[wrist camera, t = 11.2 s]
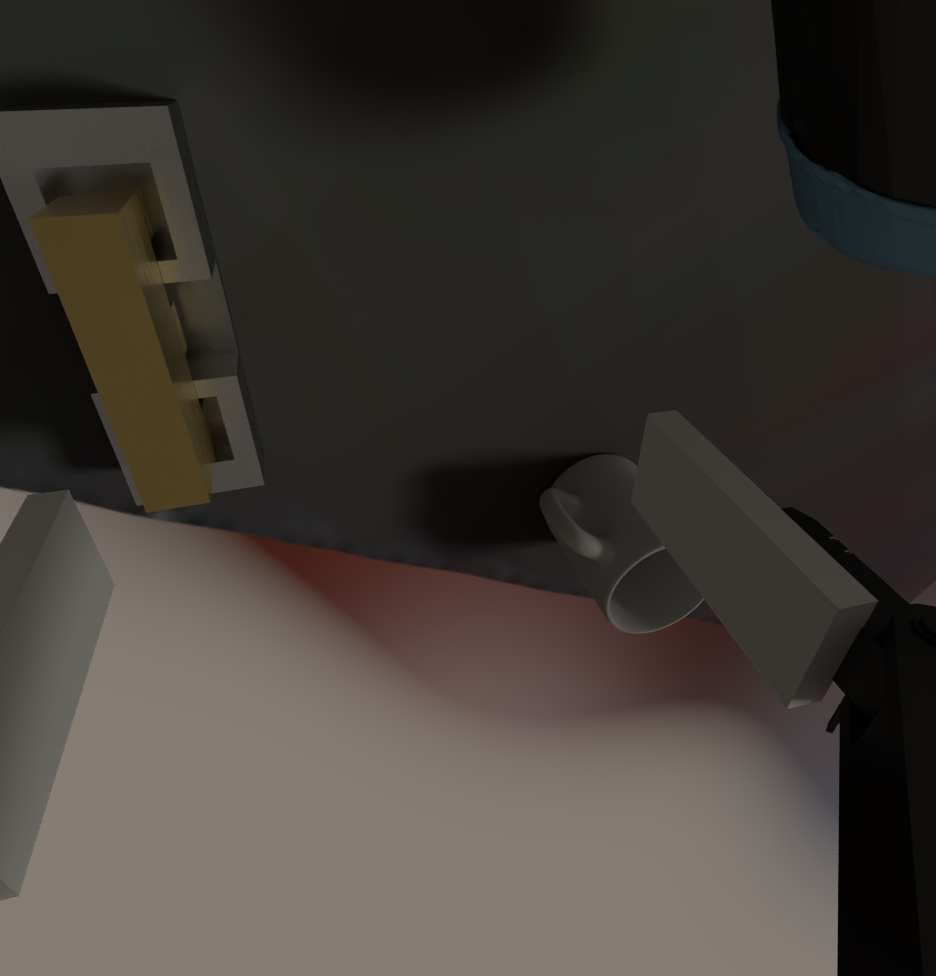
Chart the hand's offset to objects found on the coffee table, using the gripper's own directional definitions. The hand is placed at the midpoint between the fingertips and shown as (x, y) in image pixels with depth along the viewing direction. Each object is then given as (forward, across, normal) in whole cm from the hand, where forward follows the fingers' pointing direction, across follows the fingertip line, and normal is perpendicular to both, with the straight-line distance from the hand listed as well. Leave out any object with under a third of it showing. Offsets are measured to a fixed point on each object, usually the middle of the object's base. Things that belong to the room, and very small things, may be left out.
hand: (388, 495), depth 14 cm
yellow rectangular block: (+22, -10, -3) cm, 24 cm away
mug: (+24, +17, -20) cm, 36 cm away
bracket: (+24, -9, -3) cm, 25 cm away
